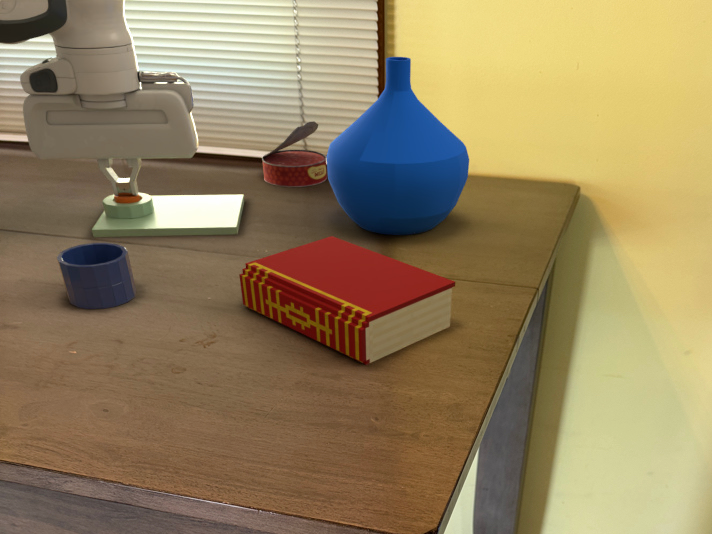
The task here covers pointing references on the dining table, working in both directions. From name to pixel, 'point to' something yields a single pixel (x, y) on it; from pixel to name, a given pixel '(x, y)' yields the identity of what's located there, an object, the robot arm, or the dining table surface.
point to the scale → (171, 216)
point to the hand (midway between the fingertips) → (126, 194)
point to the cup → (97, 275)
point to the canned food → (295, 162)
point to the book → (348, 297)
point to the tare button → (126, 199)
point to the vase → (397, 162)
